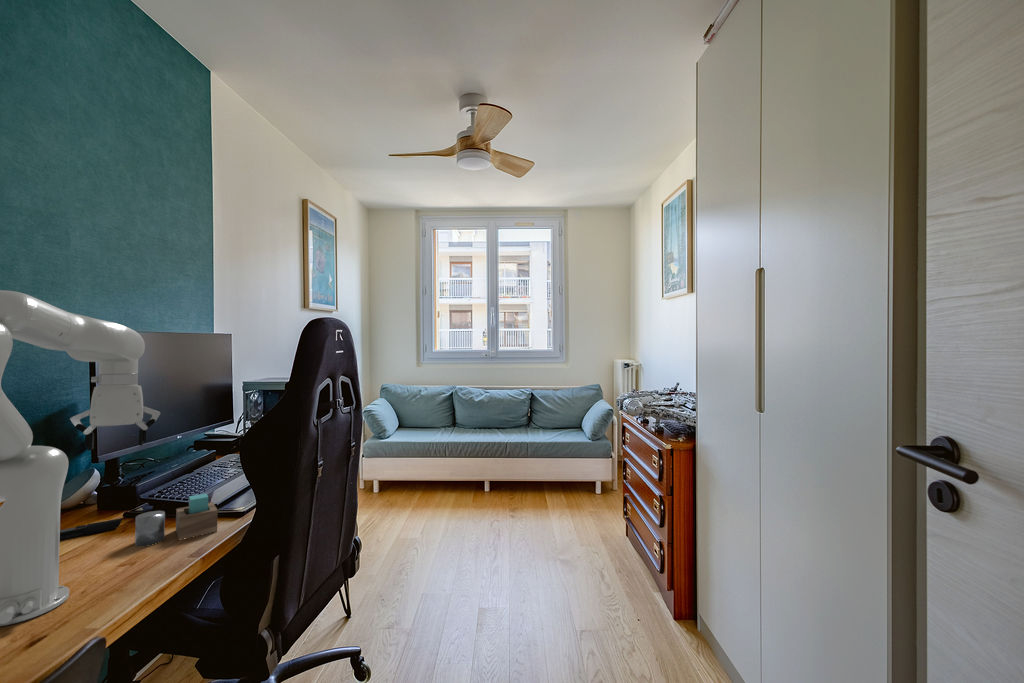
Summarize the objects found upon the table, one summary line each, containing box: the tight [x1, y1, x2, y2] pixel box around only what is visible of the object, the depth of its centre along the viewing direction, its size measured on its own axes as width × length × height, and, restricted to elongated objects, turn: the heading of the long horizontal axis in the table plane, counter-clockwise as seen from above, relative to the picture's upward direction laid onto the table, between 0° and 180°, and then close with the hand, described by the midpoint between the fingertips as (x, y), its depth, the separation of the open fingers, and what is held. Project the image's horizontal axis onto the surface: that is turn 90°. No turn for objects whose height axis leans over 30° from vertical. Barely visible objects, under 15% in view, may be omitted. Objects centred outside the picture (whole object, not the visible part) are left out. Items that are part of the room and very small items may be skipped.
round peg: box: [134, 510, 166, 547], centre depth 116 cm, size 6×6×7 cm
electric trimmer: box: [60, 517, 123, 541], centre depth 120 cm, size 4×16×3 cm, turn 130°
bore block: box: [175, 501, 219, 540], centre depth 122 cm, size 8×8×6 cm
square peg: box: [188, 493, 209, 514], centre depth 123 cm, size 4×4×8 cm
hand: (116, 447), depth 113 cm, fingers open, 9 cm apart
